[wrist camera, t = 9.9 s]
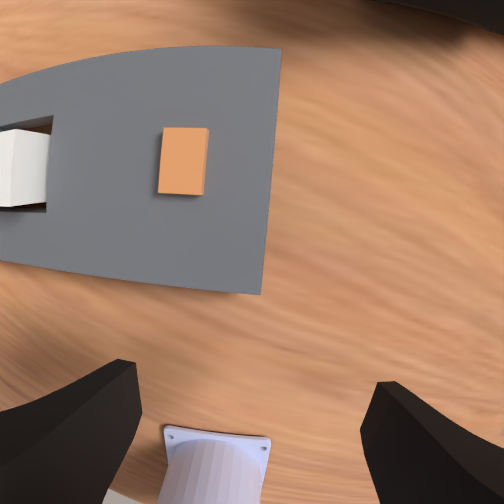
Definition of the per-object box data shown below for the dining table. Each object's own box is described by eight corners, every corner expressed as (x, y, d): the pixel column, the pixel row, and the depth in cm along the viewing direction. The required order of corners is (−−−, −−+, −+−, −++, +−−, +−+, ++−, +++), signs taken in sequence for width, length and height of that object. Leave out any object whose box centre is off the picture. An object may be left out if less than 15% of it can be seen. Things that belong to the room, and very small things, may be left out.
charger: (62, 200, 17) (4, 207, 11) (22, 199, 17) (-33, 206, 11) (66, 138, 16) (10, 128, 10) (26, 142, 16) (-28, 137, 11)
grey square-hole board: (260, 279, 17) (260, 299, 14) (-14, 246, 17) (-40, 254, 14) (279, 67, 15) (282, 43, 12) (-6, 99, 15) (-31, 93, 12)
